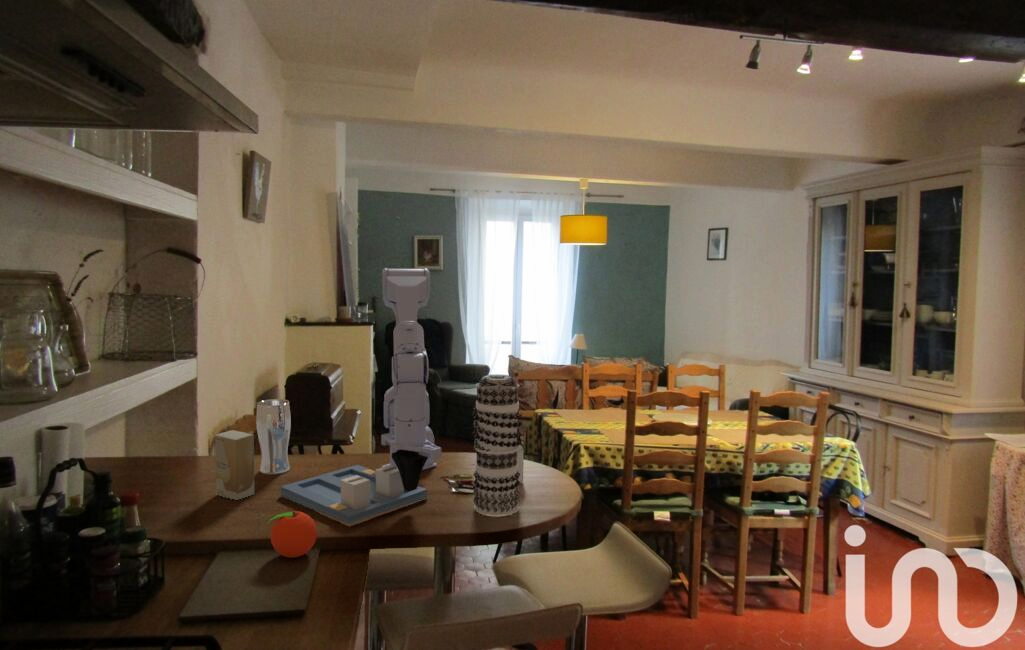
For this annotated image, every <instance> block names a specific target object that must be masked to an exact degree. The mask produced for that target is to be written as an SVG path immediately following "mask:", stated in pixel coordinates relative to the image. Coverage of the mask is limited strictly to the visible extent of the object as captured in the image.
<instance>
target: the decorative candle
mask: <svg viewBox="0 0 1025 650" xmlns="http://www.w3.org/2000/svg"><path fill="white" fill-rule="evenodd" d="M475 386H476V401H475V405H474V407H472V409H473V411H472V414H471V415H472V416H473V419H474V420H473V424H472V427H473V428H474V429H473V432H472V435H473V437H474V442H473V447H474V450H475V451H476V461H475V471H474V473H473V477H474V480H473V484H474V486H475V488H474V489H473V492H472V493H473V496H474V497H473V503H474V506H473V510H474V509H475V510H476V511H478V512H480V513H484V514H490V515H503V514H511V513H514V512H516V511H517V510H518V508H519V509H520V506H519V502H520V498H519V494H520V489H519V485H520V482H519V481H518V478H519V476H520V473H519V472H518V462H517V451H518V450H519V448H520V446H519V445H521V443H522V441H520V440H519V439H518V438H520V437H521V435H522V433H521V431H519V430H518V428H520V427H521V426H522V425H523V422H521V420H520V419H521V418H522V417H523V415H522V413H521V412H519V411H518V410H519V409H520V401H519V399H518V398H519V390H518V389H519V387H520V386H521V384H519V383H517V382H516V380H515V379H514V377H512V376H510V375H506V374H488V375H484V376H483V377H482V378H481V379H480V380H479V382H478V383H477V382H476V383H475ZM475 510H474V511H475ZM518 511H519V510H518Z"/></svg>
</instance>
